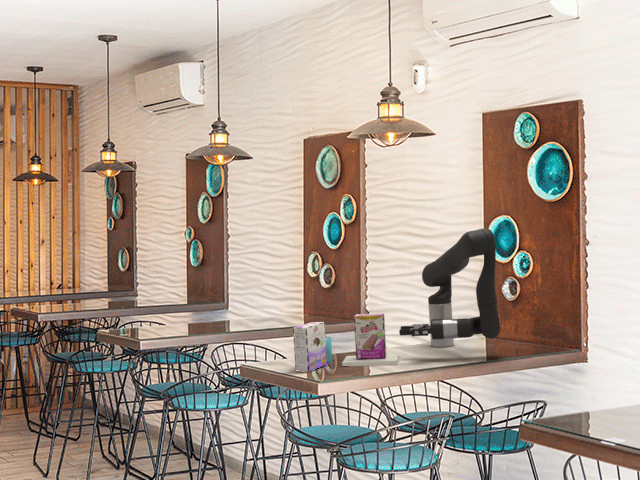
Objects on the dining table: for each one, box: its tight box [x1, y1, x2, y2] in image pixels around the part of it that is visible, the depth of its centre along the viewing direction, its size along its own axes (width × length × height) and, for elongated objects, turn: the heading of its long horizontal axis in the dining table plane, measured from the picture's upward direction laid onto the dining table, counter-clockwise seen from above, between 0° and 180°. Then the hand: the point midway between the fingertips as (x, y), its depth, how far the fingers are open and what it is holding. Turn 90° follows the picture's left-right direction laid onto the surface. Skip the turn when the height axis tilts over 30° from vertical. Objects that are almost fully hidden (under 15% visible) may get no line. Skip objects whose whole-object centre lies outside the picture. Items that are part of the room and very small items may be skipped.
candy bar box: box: [353, 313, 387, 359], centre depth 306 cm, size 11×5×16 cm, turn 83°
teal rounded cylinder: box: [326, 336, 333, 363], centre depth 315 cm, size 7×7×9 cm
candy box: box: [292, 321, 328, 371], centre depth 301 cm, size 14×6×16 cm, turn 150°
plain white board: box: [341, 353, 400, 367], centre depth 306 cm, size 14×20×2 cm
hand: (400, 330), depth 304 cm, fingers open, 8 cm apart
